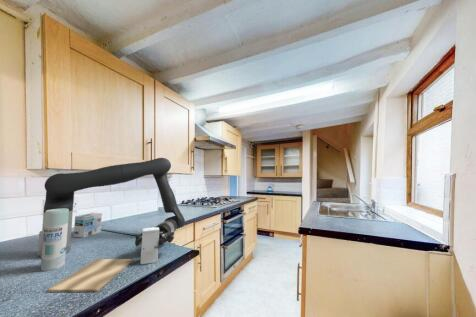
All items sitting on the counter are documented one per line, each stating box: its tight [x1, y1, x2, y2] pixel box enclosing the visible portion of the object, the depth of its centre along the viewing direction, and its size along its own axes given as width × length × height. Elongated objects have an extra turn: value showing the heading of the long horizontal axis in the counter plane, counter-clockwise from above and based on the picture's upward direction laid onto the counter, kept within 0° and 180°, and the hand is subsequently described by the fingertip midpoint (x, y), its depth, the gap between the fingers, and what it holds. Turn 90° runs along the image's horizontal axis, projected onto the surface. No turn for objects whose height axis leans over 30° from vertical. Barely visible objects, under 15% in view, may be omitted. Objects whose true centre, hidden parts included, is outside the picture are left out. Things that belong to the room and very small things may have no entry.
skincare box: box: [140, 226, 159, 265], centre depth 76 cm, size 6×4×12 cm
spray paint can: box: [40, 208, 69, 272], centre depth 71 cm, size 6×6×20 cm
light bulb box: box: [73, 212, 103, 238], centre depth 108 cm, size 11×7×11 cm, turn 168°
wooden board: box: [46, 258, 135, 293], centre depth 66 cm, size 14×20×1 cm
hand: (147, 243), depth 74 cm, fingers open, 8 cm apart
